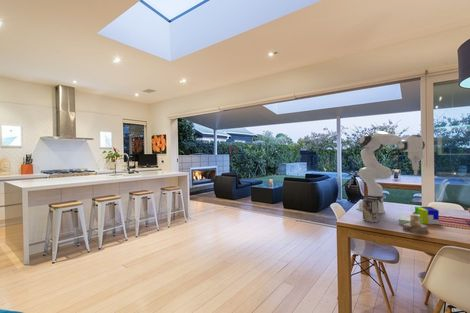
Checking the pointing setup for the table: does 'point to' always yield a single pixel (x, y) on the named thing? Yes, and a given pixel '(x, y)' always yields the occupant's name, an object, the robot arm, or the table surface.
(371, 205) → the coffee box
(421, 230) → the walnut block
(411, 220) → the oak block
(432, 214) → the puzzle toy
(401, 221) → the sage block
